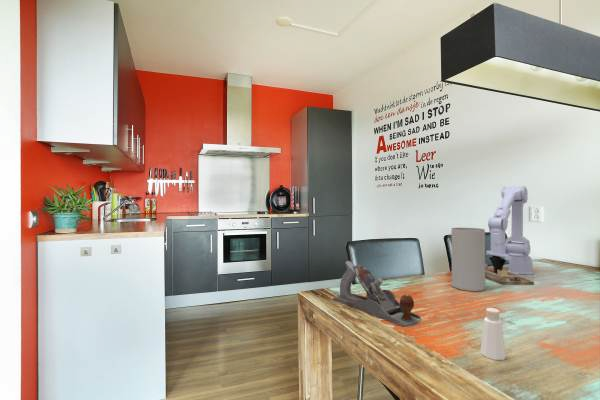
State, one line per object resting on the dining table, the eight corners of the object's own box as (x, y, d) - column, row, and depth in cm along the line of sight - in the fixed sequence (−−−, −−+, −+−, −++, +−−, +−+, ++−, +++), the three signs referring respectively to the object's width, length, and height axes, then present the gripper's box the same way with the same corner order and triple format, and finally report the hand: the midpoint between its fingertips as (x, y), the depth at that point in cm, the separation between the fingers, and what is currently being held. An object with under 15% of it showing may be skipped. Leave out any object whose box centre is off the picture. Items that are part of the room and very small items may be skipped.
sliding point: (517, 278, 144) (517, 269, 144) (521, 279, 142) (521, 270, 142) (497, 278, 144) (497, 269, 144) (500, 279, 142) (500, 270, 142)
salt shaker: (488, 347, 80) (488, 304, 80) (511, 357, 75) (510, 310, 75) (475, 352, 78) (474, 307, 78) (497, 362, 73) (497, 314, 73)
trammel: (495, 271, 160) (495, 263, 160) (525, 281, 139) (525, 272, 139) (477, 271, 160) (477, 263, 160) (504, 281, 139) (504, 272, 139)
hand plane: (406, 329, 93) (406, 278, 93) (331, 300, 120) (331, 260, 120) (424, 322, 98) (424, 273, 98) (348, 296, 125) (348, 258, 125)
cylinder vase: (482, 293, 126) (482, 230, 126) (448, 288, 133) (448, 229, 133) (487, 286, 136) (486, 228, 136) (455, 282, 143) (454, 227, 143)
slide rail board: (501, 273, 161) (501, 270, 161) (533, 284, 139) (533, 281, 139) (474, 273, 161) (474, 270, 161) (502, 284, 139) (501, 282, 139)
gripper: (480, 241, 153) (480, 269, 153) (499, 245, 138) (499, 276, 138) (494, 241, 153) (494, 269, 153) (515, 245, 138) (515, 276, 138)
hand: (498, 273), depth 145 cm, fingers closed
